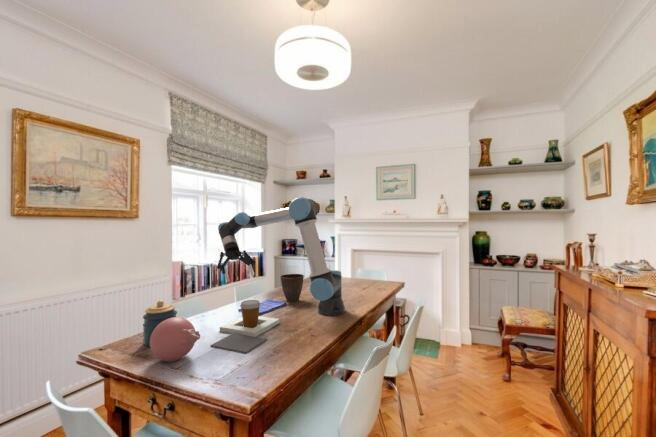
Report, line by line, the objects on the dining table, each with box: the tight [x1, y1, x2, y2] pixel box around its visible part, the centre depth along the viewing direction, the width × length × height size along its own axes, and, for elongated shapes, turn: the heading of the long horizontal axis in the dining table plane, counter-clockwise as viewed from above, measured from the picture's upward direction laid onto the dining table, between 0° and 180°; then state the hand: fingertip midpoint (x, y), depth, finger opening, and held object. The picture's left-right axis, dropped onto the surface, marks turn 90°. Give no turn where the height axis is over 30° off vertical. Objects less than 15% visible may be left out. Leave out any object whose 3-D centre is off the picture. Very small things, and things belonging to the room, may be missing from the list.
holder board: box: [219, 315, 280, 337], centre depth 148 cm, size 20×20×2 cm
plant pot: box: [279, 273, 305, 303], centre depth 195 cm, size 15×15×16 cm
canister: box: [142, 300, 178, 348], centre depth 132 cm, size 13×13×18 cm
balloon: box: [149, 316, 201, 362], centre depth 114 cm, size 15×20×15 cm
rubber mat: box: [210, 333, 268, 354], centre depth 129 cm, size 18×14×1 cm
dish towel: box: [237, 299, 288, 316], centre depth 180 cm, size 17×24×3 cm
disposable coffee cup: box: [239, 299, 261, 328], centre depth 148 cm, size 10×10×12 cm
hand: (240, 277), depth 157 cm, fingers open, 13 cm apart
